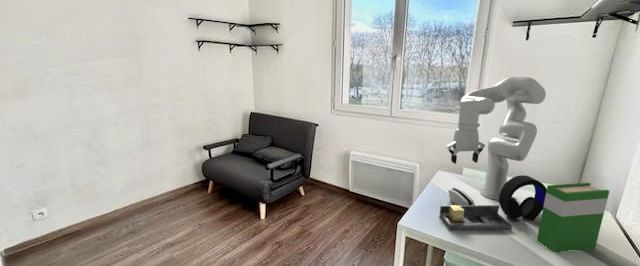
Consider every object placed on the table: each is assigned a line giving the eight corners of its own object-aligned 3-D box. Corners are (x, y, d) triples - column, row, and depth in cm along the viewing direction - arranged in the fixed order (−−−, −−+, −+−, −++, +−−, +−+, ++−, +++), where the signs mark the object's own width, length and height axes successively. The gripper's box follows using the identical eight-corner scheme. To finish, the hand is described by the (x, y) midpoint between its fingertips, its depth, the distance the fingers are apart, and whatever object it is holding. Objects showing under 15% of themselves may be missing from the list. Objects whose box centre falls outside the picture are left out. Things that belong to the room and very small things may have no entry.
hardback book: (575, 237, 115) (588, 182, 110) (594, 248, 108) (609, 190, 102) (536, 241, 113) (547, 185, 107) (553, 252, 106) (566, 193, 100)
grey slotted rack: (495, 217, 131) (497, 205, 129) (511, 230, 120) (513, 218, 119) (439, 216, 131) (440, 205, 130) (449, 230, 121) (450, 217, 119)
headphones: (505, 223, 126) (511, 181, 121) (495, 215, 132) (501, 175, 127) (544, 221, 127) (552, 179, 122) (532, 214, 133) (540, 174, 129)
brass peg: (457, 221, 127) (459, 205, 126) (462, 226, 123) (464, 210, 121) (447, 221, 128) (449, 205, 126) (452, 226, 123) (454, 210, 121)
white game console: (480, 215, 133) (476, 197, 130) (471, 219, 132) (466, 201, 130) (458, 199, 149) (454, 182, 146) (450, 202, 148) (446, 186, 146)
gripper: (481, 123, 131) (478, 158, 136) (444, 125, 132) (442, 160, 136) (491, 127, 124) (487, 164, 129) (452, 129, 124) (449, 166, 129)
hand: (464, 162), depth 132 cm, fingers open, 9 cm apart
